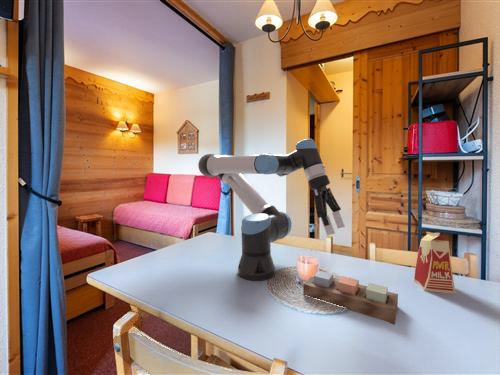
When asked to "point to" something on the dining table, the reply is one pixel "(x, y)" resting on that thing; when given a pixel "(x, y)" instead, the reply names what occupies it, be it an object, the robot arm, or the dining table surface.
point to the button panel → (354, 300)
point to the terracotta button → (348, 285)
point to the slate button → (323, 279)
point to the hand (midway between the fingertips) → (336, 230)
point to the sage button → (377, 293)
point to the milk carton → (434, 265)
